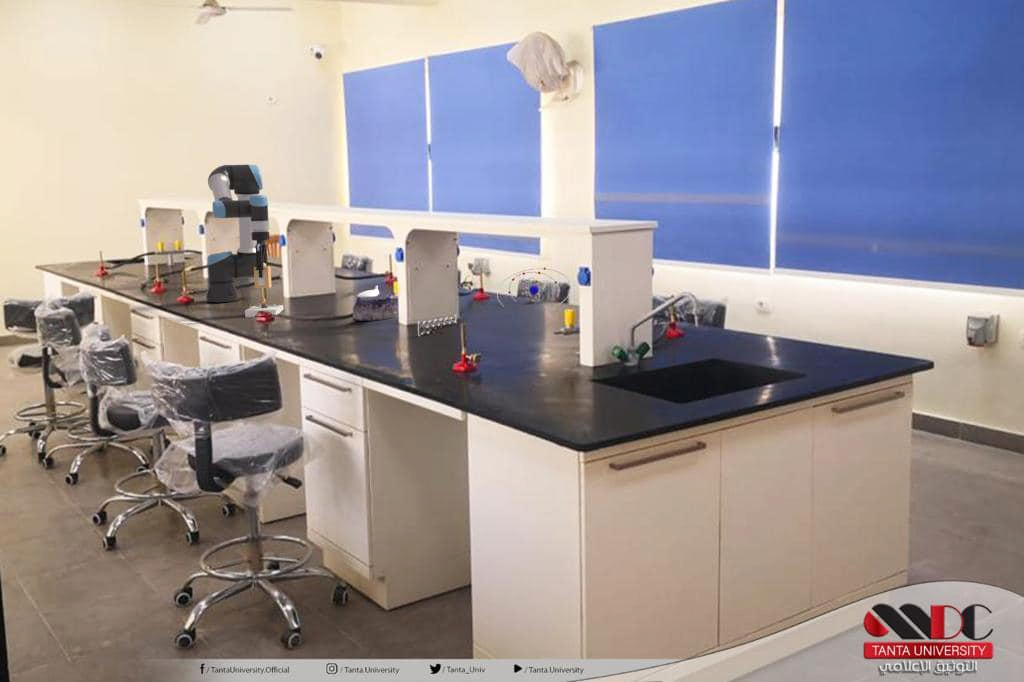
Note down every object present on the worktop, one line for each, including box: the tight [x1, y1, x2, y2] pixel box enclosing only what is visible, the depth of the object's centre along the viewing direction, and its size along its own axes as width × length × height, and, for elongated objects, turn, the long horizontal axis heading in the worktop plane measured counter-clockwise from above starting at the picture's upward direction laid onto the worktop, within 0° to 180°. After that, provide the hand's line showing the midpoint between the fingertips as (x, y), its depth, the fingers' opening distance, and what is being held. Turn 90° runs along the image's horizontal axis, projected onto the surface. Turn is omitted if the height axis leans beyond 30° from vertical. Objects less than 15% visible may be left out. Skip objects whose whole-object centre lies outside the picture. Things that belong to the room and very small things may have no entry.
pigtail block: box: [244, 298, 284, 318], centre depth 435 cm, size 18×13×7 cm
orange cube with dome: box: [253, 263, 273, 289], centre depth 433 cm, size 6×6×11 cm
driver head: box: [356, 285, 380, 298], centre depth 478 cm, size 10×11×12 cm
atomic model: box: [496, 267, 572, 307], centre depth 433 cm, size 28×21×30 cm
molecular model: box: [417, 314, 457, 337], centre depth 379 cm, size 25×9×6 cm, turn 145°
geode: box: [352, 297, 399, 322], centre depth 408 cm, size 20×12×10 cm, turn 136°
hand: (263, 284), depth 433 cm, fingers closed on orange cube with dome, 6 cm apart
